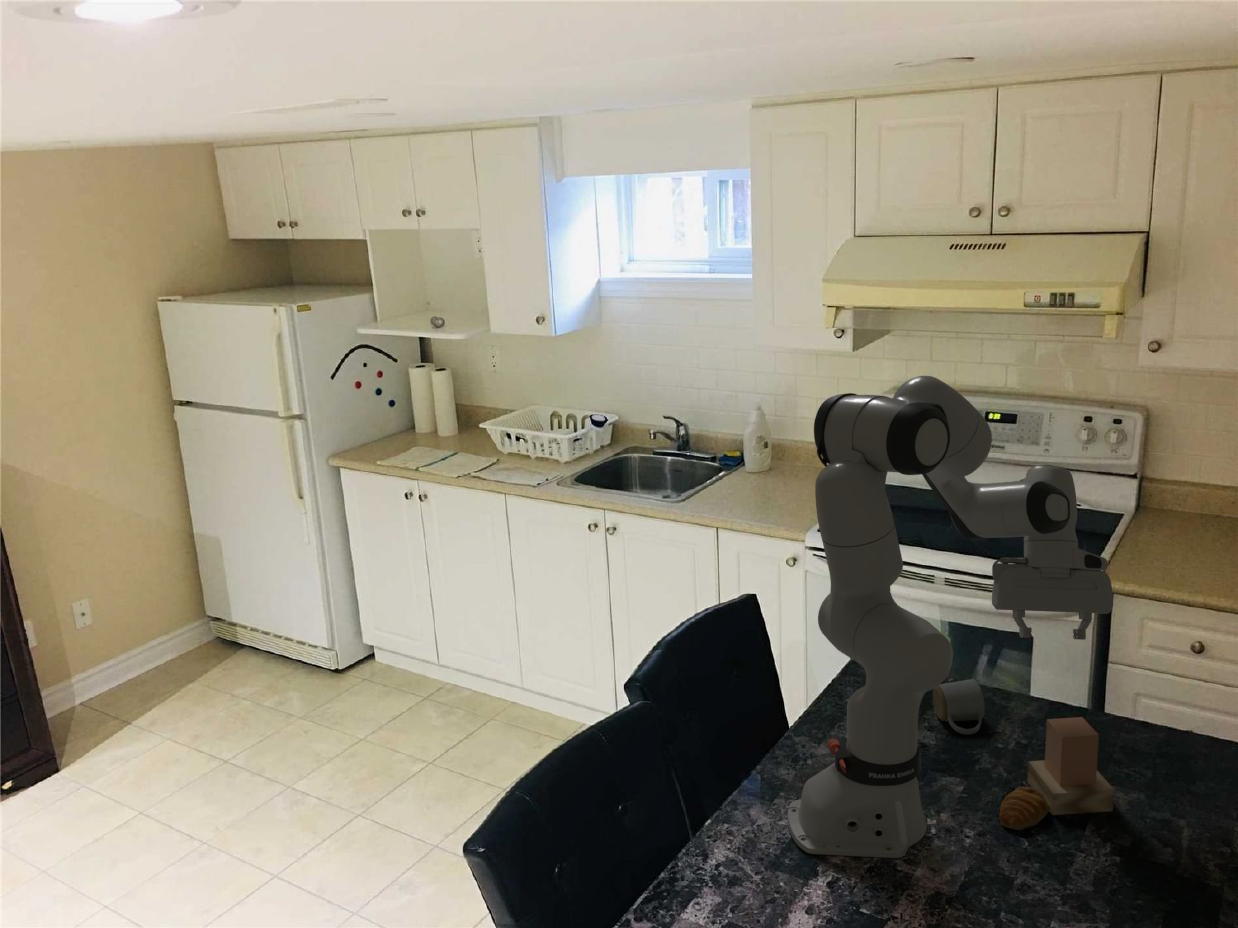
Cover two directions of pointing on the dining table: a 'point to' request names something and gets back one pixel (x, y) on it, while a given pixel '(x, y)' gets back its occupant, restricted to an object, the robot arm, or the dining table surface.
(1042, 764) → the oak base block
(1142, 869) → the dining table surface
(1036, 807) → the pastry
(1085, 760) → the reddish brown block
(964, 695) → the ceramic mug
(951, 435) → the robot arm
